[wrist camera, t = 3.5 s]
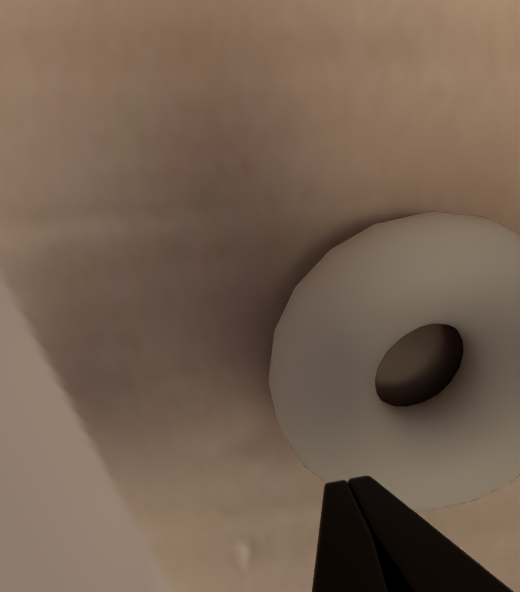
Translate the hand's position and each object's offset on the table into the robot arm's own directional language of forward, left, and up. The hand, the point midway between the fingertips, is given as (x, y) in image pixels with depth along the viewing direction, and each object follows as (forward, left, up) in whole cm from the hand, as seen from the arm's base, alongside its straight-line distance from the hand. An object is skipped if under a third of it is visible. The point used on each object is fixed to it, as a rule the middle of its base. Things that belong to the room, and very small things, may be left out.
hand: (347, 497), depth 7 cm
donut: (-2, +1, -5) cm, 6 cm away
